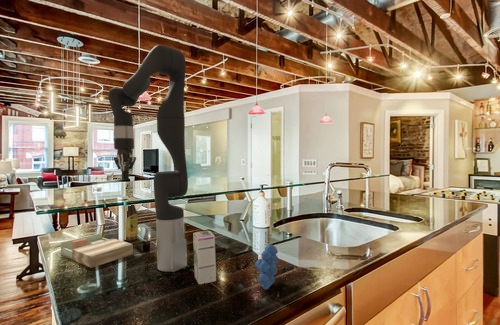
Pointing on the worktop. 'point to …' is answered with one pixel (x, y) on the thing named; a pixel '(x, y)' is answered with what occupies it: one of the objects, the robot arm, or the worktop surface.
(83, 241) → the terracotta tile
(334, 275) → the worktop surface
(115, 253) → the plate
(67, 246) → the box
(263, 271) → the grapes
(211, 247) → the syrup box
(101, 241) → the white tile
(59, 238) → the worktop surface
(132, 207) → the sauce bottle
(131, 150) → the robot arm
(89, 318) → the worktop surface
